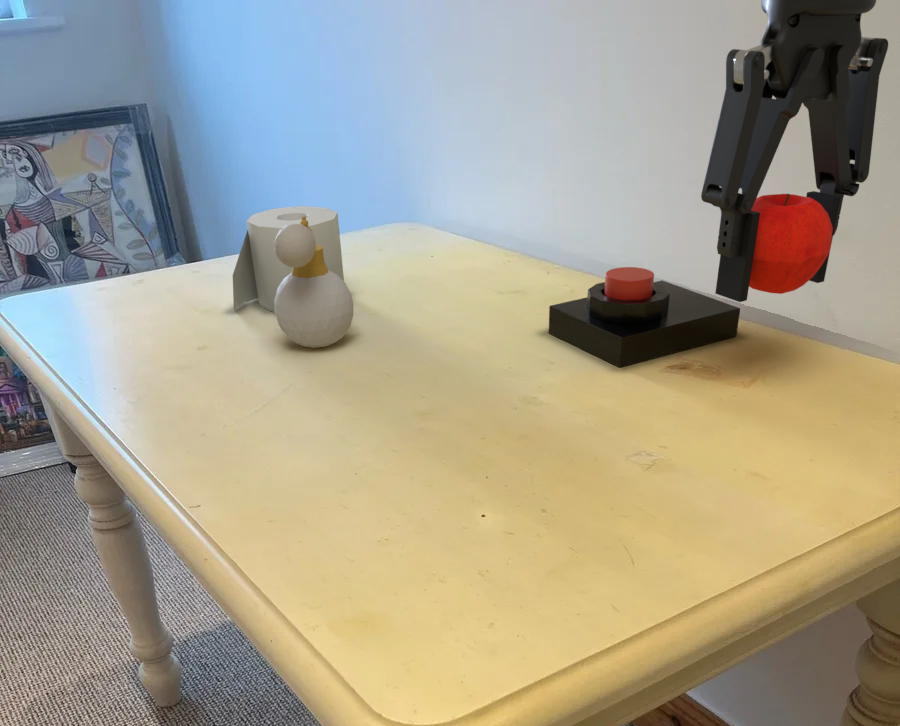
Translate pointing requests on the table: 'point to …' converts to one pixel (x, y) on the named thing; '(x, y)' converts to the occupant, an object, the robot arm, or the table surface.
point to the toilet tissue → (258, 259)
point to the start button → (629, 283)
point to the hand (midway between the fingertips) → (770, 287)
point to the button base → (642, 323)
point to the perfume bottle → (309, 291)
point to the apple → (789, 242)
